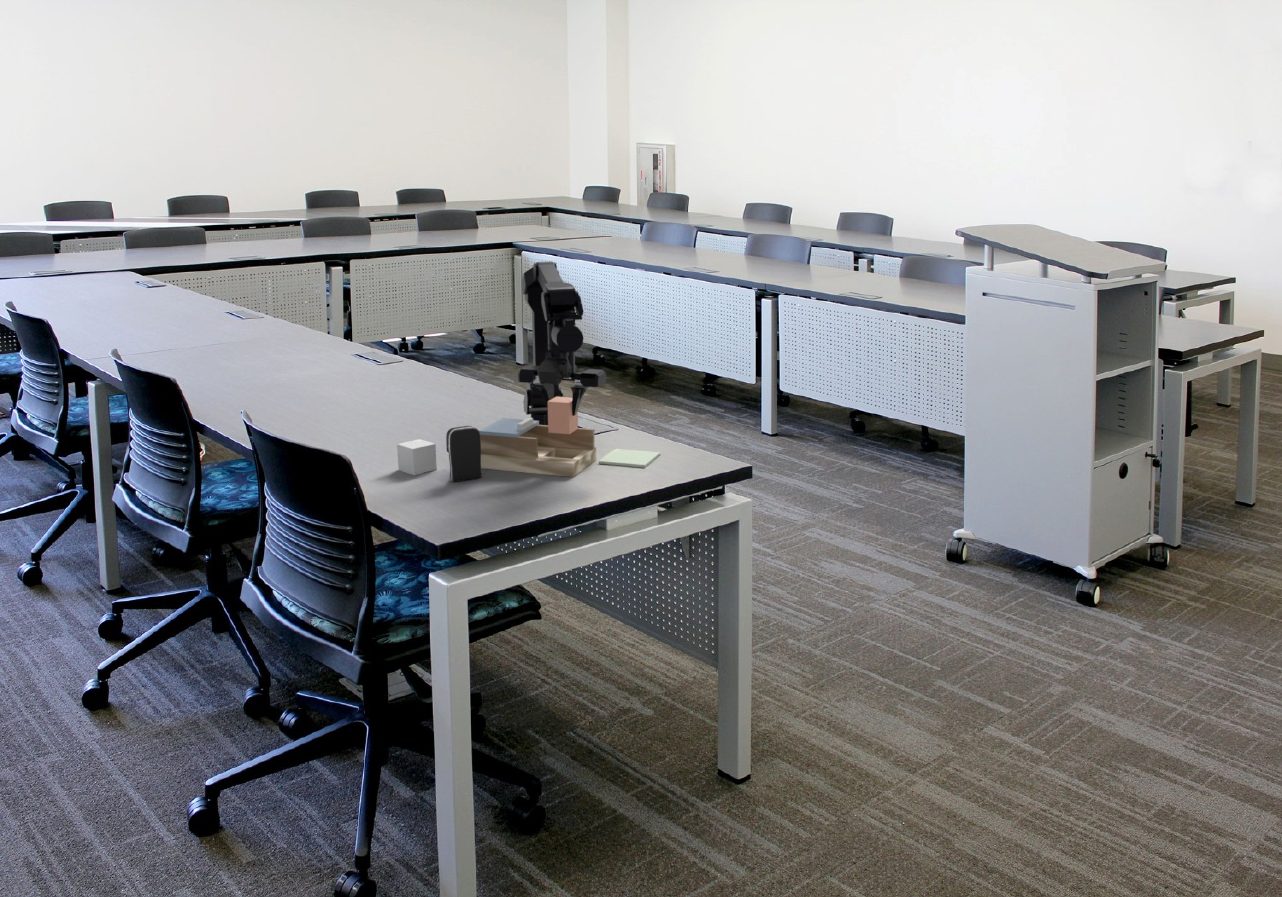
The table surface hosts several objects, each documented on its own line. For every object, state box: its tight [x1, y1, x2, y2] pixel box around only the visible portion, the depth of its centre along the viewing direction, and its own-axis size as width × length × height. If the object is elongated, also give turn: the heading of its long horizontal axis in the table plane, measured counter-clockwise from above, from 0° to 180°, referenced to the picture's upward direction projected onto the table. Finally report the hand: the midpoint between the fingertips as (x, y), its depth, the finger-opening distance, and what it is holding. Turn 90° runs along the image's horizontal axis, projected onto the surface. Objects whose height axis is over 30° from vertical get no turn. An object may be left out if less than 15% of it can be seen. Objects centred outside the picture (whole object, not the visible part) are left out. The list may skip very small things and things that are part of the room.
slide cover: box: [479, 417, 539, 437], centre depth 263 cm, size 12×9×2 cm
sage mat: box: [598, 448, 661, 469], centre depth 266 cm, size 11×11×1 cm
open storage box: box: [480, 425, 597, 478], centre depth 262 cm, size 14×24×8 cm, turn 71°
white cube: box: [396, 438, 438, 476], centre depth 258 cm, size 6×6×6 cm
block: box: [548, 396, 579, 434], centre depth 258 cm, size 5×5×7 cm
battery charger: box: [445, 425, 482, 482], centre depth 251 cm, size 7×4×11 cm, turn 120°
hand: (562, 414), depth 258 cm, fingers closed on block, 5 cm apart
